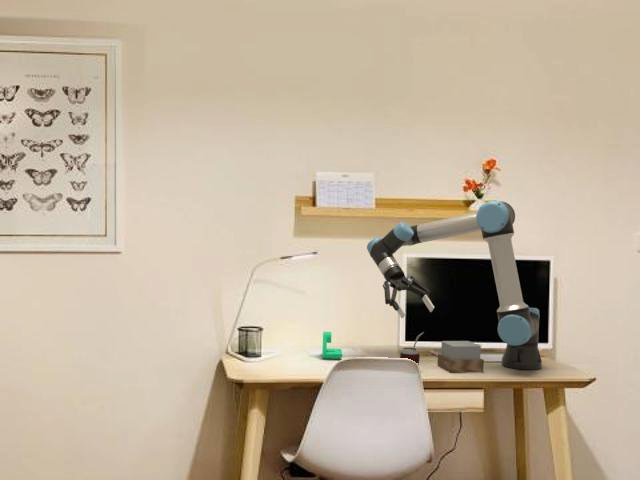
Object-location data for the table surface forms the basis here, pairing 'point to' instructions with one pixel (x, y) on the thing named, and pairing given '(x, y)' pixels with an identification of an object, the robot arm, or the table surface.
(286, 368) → the table surface
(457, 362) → the tower base
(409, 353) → the mate gourd
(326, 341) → the camera mount
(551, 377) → the table surface
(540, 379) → the table surface
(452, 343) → the tower top
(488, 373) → the table surface
